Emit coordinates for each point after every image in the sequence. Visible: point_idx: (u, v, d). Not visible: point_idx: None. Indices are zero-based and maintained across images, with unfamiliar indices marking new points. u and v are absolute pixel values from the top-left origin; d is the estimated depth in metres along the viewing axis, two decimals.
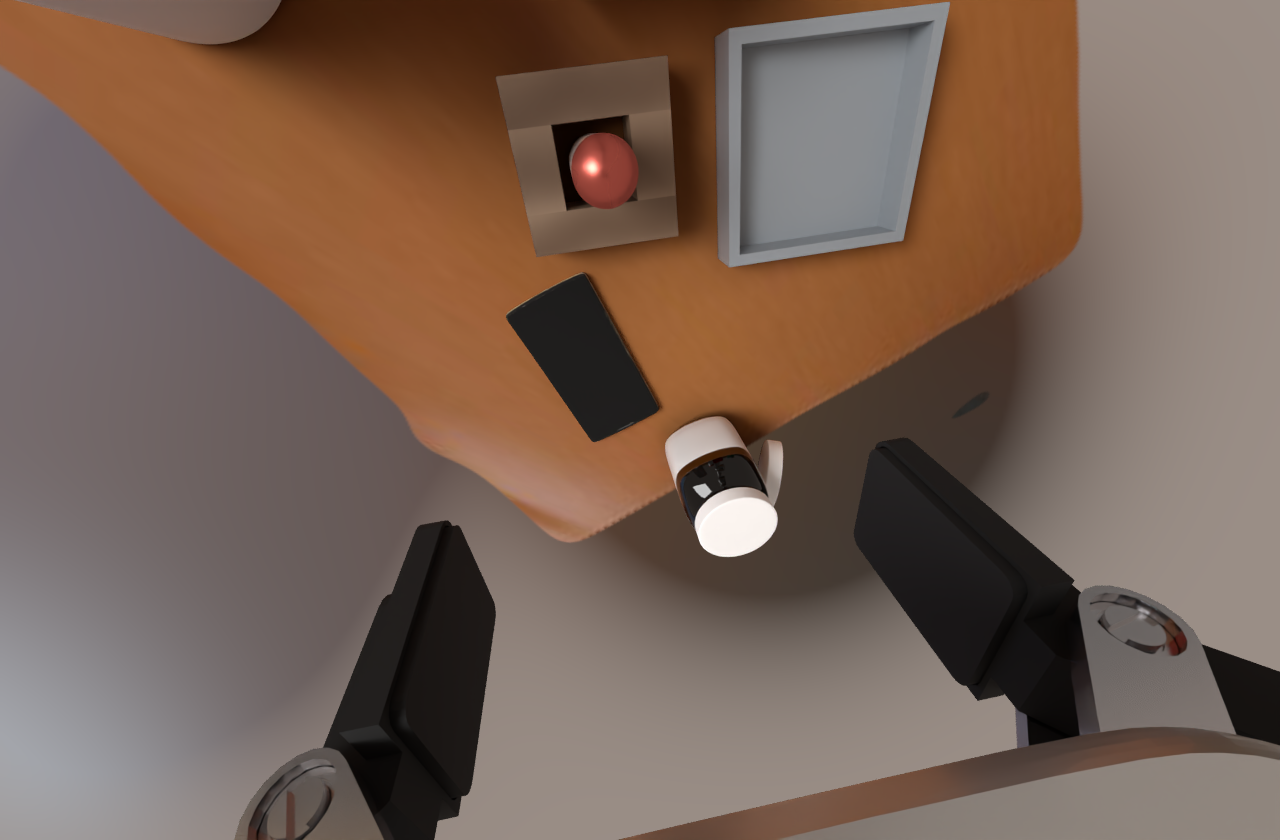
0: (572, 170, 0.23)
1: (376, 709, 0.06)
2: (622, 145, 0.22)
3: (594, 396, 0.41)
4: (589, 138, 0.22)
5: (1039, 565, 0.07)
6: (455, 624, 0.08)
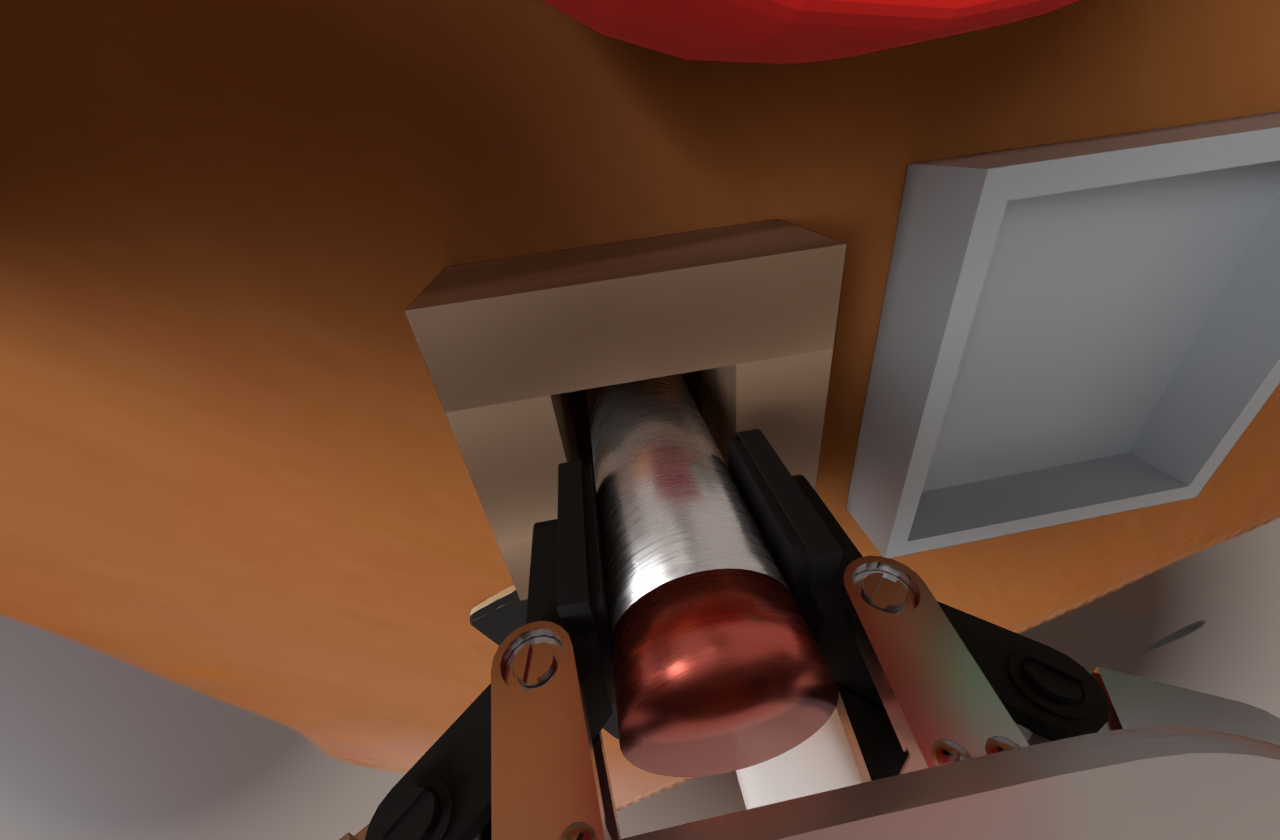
0: None
1: (581, 591, 0.07)
2: (802, 671, 0.06)
3: None
4: (690, 675, 0.06)
5: (820, 538, 0.08)
6: (601, 545, 0.10)
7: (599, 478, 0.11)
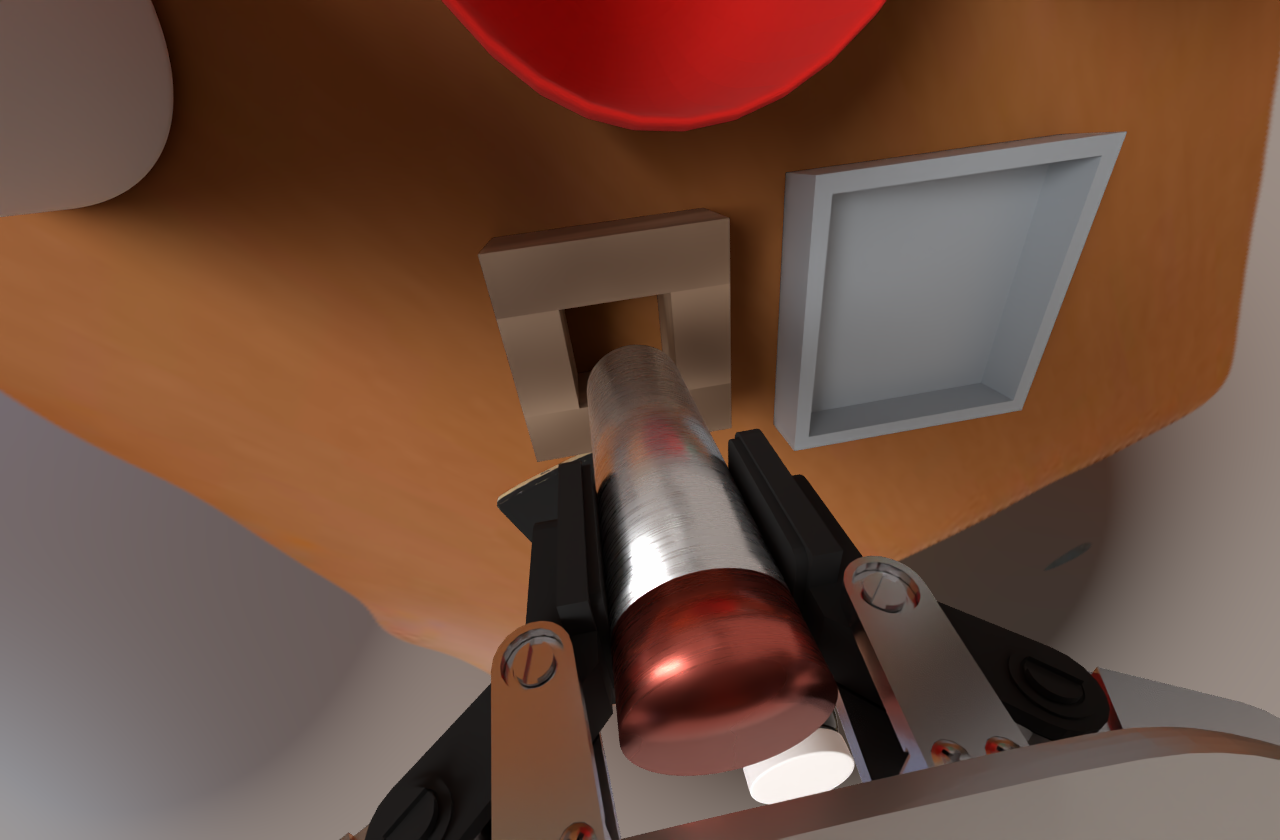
0: None
1: (580, 591, 0.07)
2: (801, 670, 0.06)
3: None
4: (689, 674, 0.06)
5: (819, 538, 0.08)
6: (601, 544, 0.10)
7: (599, 478, 0.11)
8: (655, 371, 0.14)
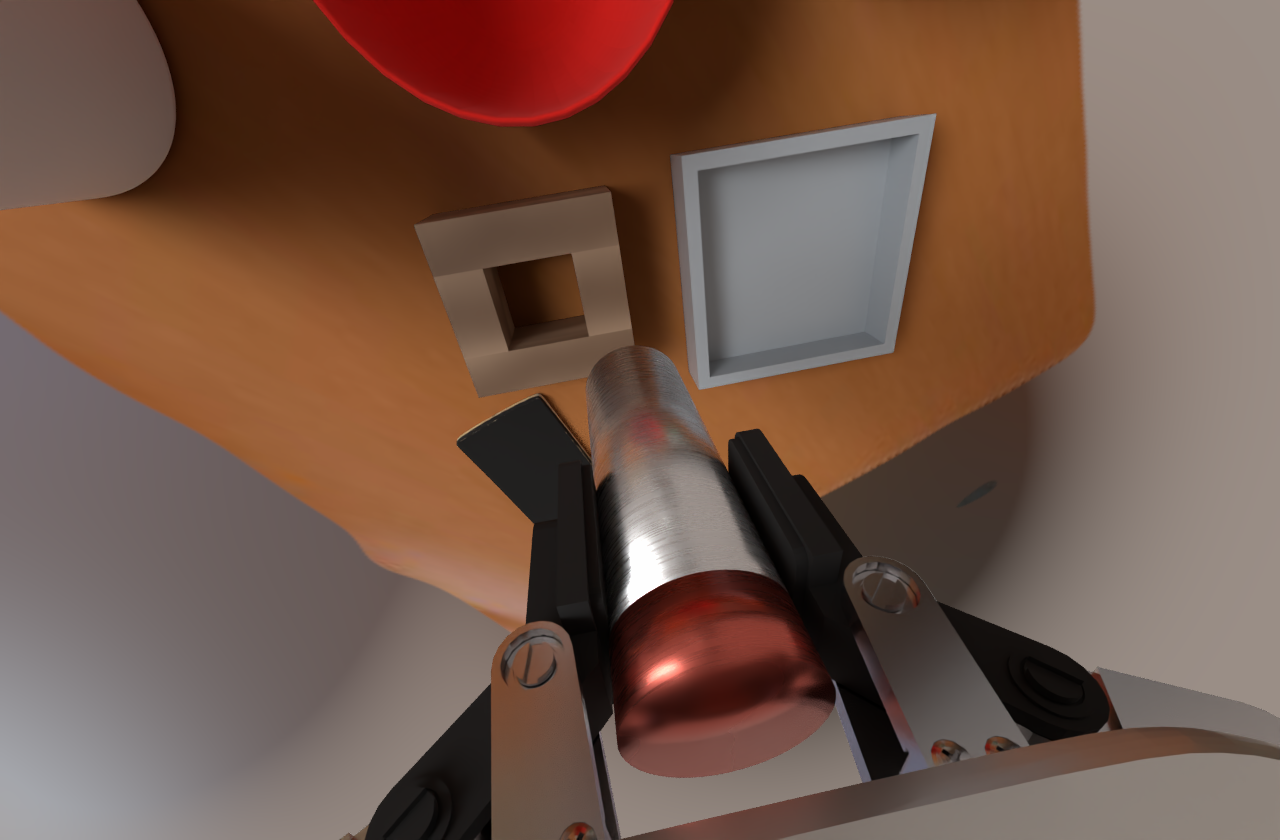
0: None
1: (581, 591, 0.07)
2: (799, 672, 0.06)
3: None
4: (687, 676, 0.06)
5: (820, 538, 0.08)
6: (601, 545, 0.10)
7: (598, 479, 0.11)
8: (654, 372, 0.14)
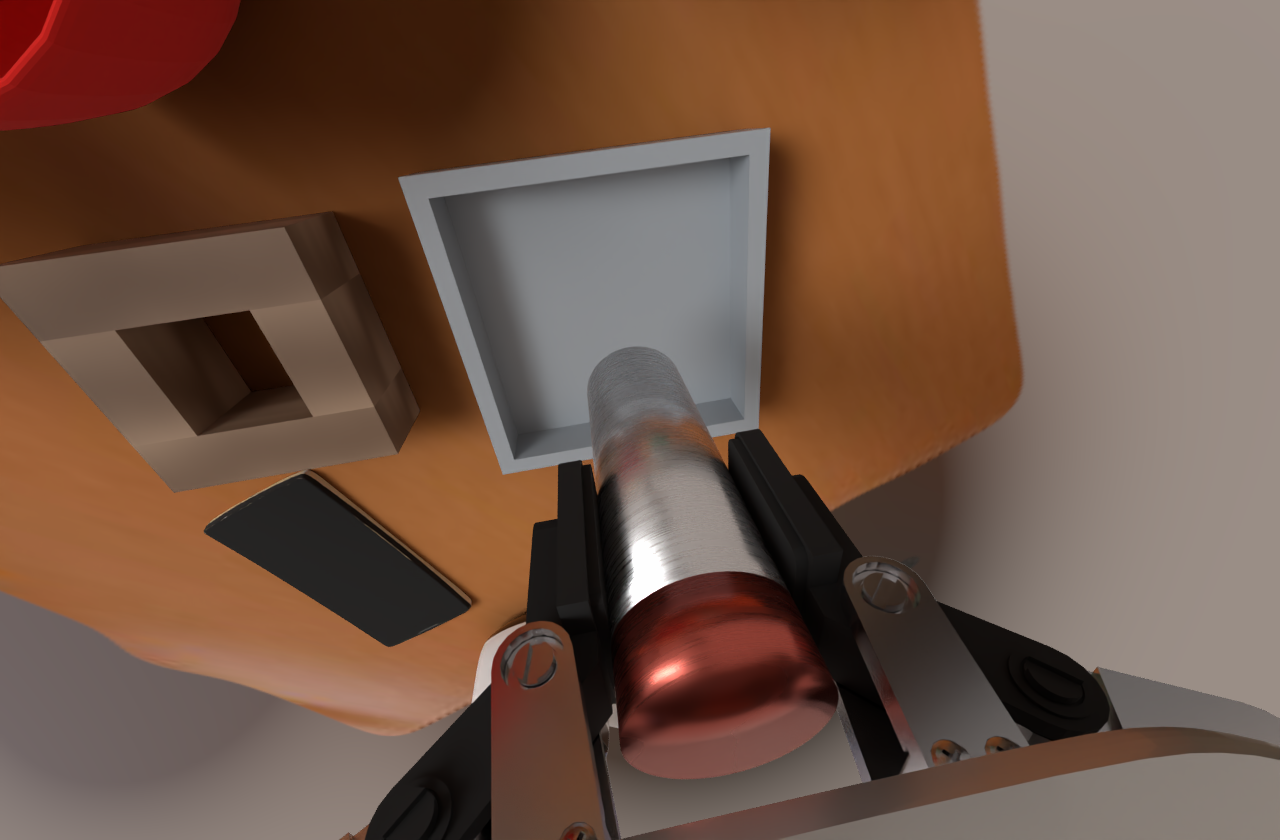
0: None
1: (581, 591, 0.07)
2: (802, 674, 0.06)
3: (372, 602, 0.31)
4: (690, 678, 0.06)
5: (820, 538, 0.08)
6: (601, 544, 0.10)
7: (599, 480, 0.11)
8: (655, 373, 0.14)
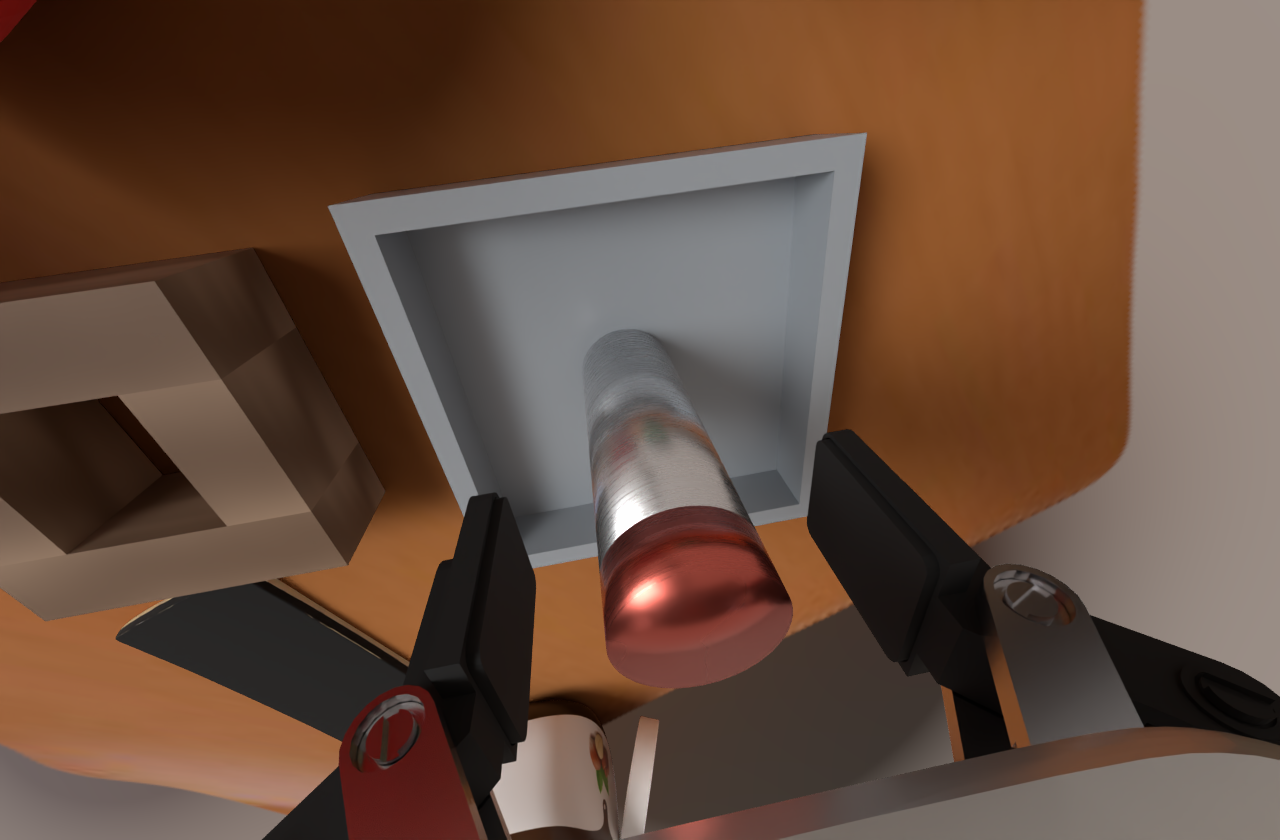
0: (608, 639, 0.08)
1: (455, 651, 0.07)
2: (758, 584, 0.08)
3: (336, 704, 0.26)
4: (663, 583, 0.07)
5: (951, 545, 0.07)
6: (508, 586, 0.09)
7: (592, 443, 0.12)
8: (644, 351, 0.15)
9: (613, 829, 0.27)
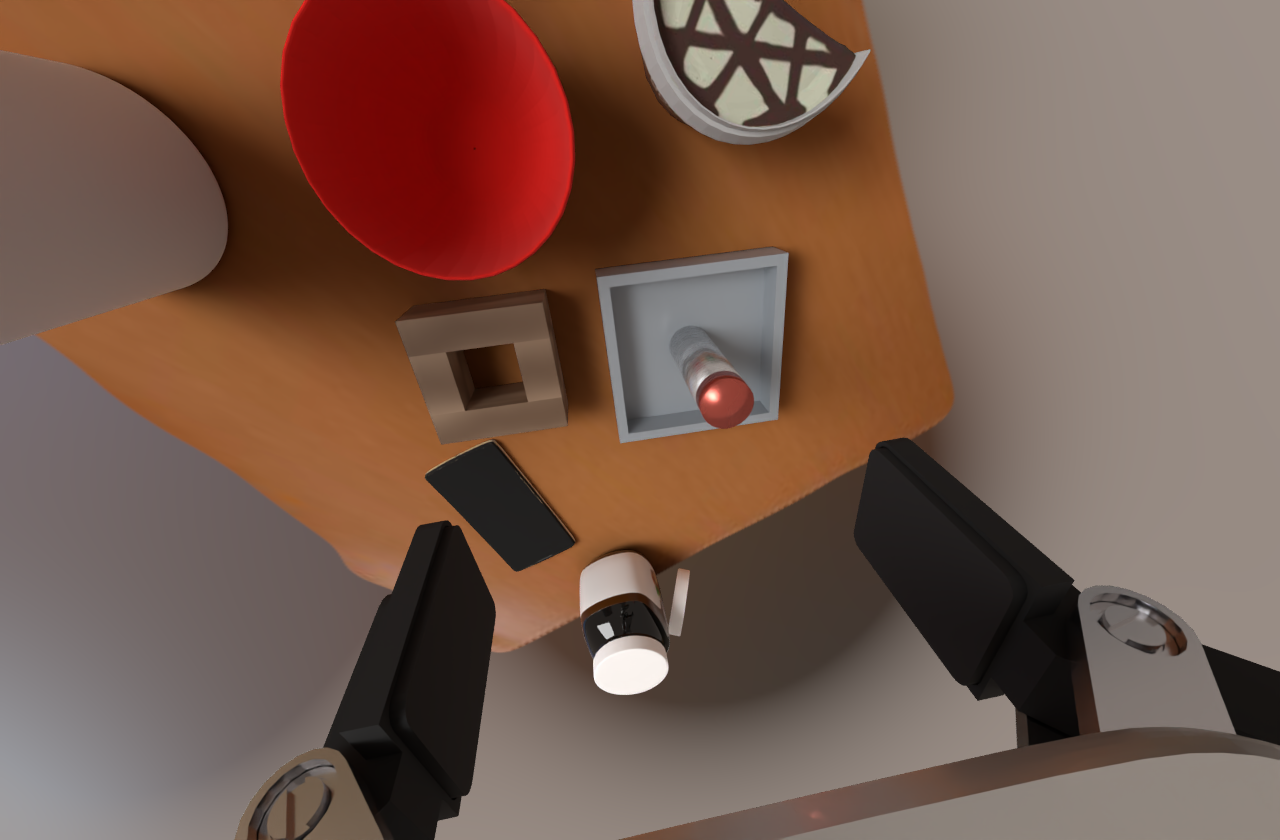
0: (702, 404, 0.28)
1: (376, 709, 0.06)
2: (744, 387, 0.28)
3: (512, 535, 0.45)
4: (718, 384, 0.28)
5: (1039, 565, 0.07)
6: (455, 624, 0.08)
7: (685, 364, 0.33)
8: (701, 334, 0.35)
9: (665, 617, 0.46)
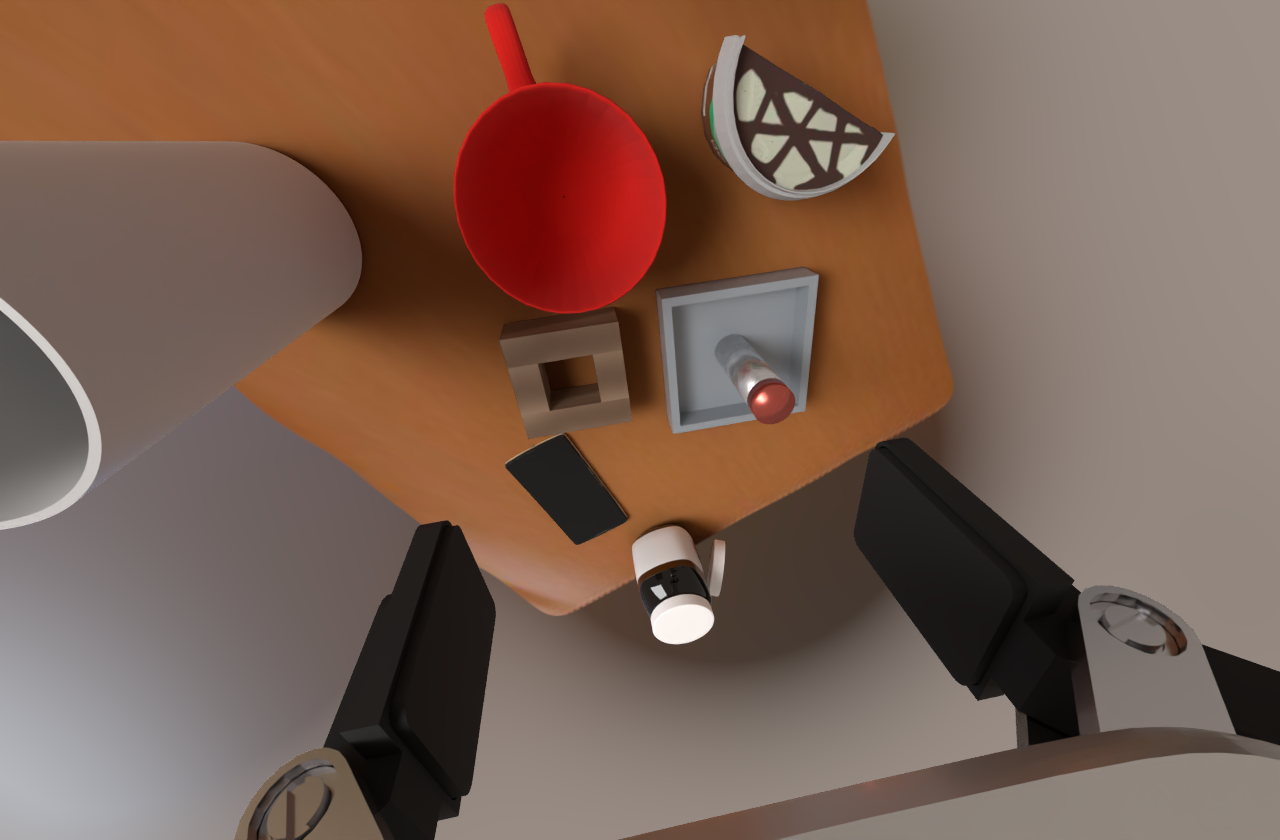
0: (754, 405, 0.35)
1: (376, 709, 0.06)
2: (788, 391, 0.35)
3: (575, 513, 0.53)
4: (768, 389, 0.35)
5: (1039, 565, 0.07)
6: (455, 624, 0.08)
7: (733, 370, 0.40)
8: (744, 342, 0.42)
9: None
